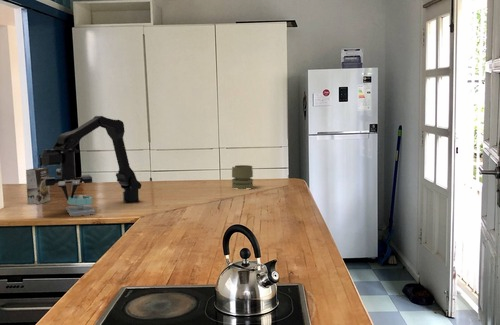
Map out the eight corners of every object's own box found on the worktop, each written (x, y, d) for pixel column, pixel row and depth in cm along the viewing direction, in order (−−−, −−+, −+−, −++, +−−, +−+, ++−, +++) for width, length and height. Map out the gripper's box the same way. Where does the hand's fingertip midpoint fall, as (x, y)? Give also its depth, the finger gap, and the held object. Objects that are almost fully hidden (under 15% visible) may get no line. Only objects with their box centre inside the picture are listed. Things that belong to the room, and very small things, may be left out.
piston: (254, 165, 288) (250, 167, 277) (254, 186, 289) (250, 190, 278) (234, 165, 290) (229, 167, 279) (235, 186, 291) (229, 189, 280)
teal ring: (90, 200, 230) (90, 195, 230) (93, 204, 221) (93, 198, 221) (66, 201, 226) (66, 195, 225) (69, 205, 217) (69, 199, 217)
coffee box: (39, 204, 242) (37, 169, 241) (27, 203, 244) (25, 169, 242) (50, 200, 251) (48, 167, 249) (38, 200, 252) (36, 167, 251)
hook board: (90, 208, 233) (89, 191, 232) (95, 214, 219) (94, 196, 218) (66, 210, 229) (65, 193, 228) (70, 216, 215) (69, 198, 214)
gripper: (88, 160, 231) (89, 195, 233) (42, 163, 223) (44, 199, 225) (91, 163, 221) (93, 199, 223) (44, 166, 213) (46, 203, 215)
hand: (69, 200), depth 221 cm, fingers closed on teal ring, 1 cm apart
